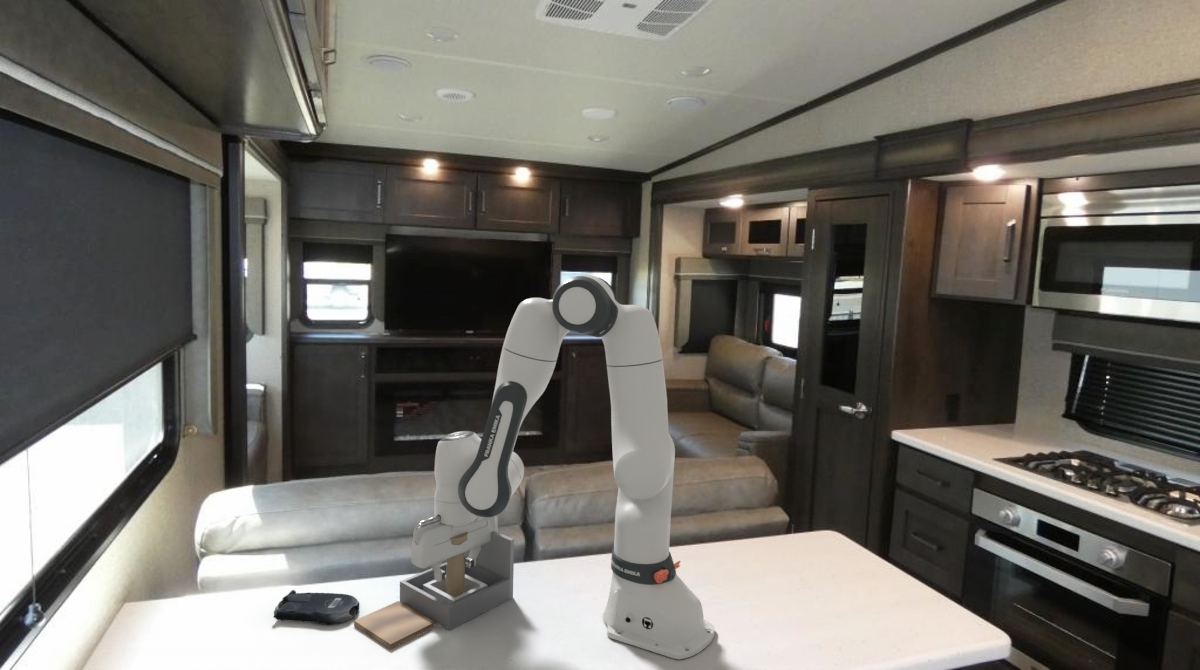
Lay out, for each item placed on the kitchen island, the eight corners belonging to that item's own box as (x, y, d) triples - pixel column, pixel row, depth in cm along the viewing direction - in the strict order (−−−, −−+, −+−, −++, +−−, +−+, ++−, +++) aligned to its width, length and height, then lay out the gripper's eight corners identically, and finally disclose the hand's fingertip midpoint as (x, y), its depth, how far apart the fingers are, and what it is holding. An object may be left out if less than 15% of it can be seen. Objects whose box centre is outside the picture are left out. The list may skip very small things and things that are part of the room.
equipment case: (512, 597, 141) (514, 539, 139) (449, 630, 127) (449, 566, 126) (463, 573, 150) (464, 518, 149) (399, 602, 137) (399, 542, 136)
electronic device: (272, 634, 127) (349, 626, 127) (269, 605, 127) (346, 597, 127) (295, 614, 137) (366, 607, 136) (292, 587, 137) (364, 580, 136)
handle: (440, 608, 135) (441, 538, 134) (446, 593, 142) (446, 525, 140) (464, 608, 135) (465, 538, 134) (469, 593, 142) (469, 526, 140)
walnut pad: (435, 626, 128) (435, 622, 128) (390, 649, 121) (390, 644, 120) (398, 605, 136) (398, 600, 136) (354, 625, 128) (354, 620, 128)
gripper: (423, 528, 126) (423, 596, 128) (502, 500, 142) (501, 561, 144) (404, 519, 130) (404, 586, 132) (482, 493, 146) (482, 552, 148)
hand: (455, 573), depth 138 cm, fingers open, 7 cm apart
